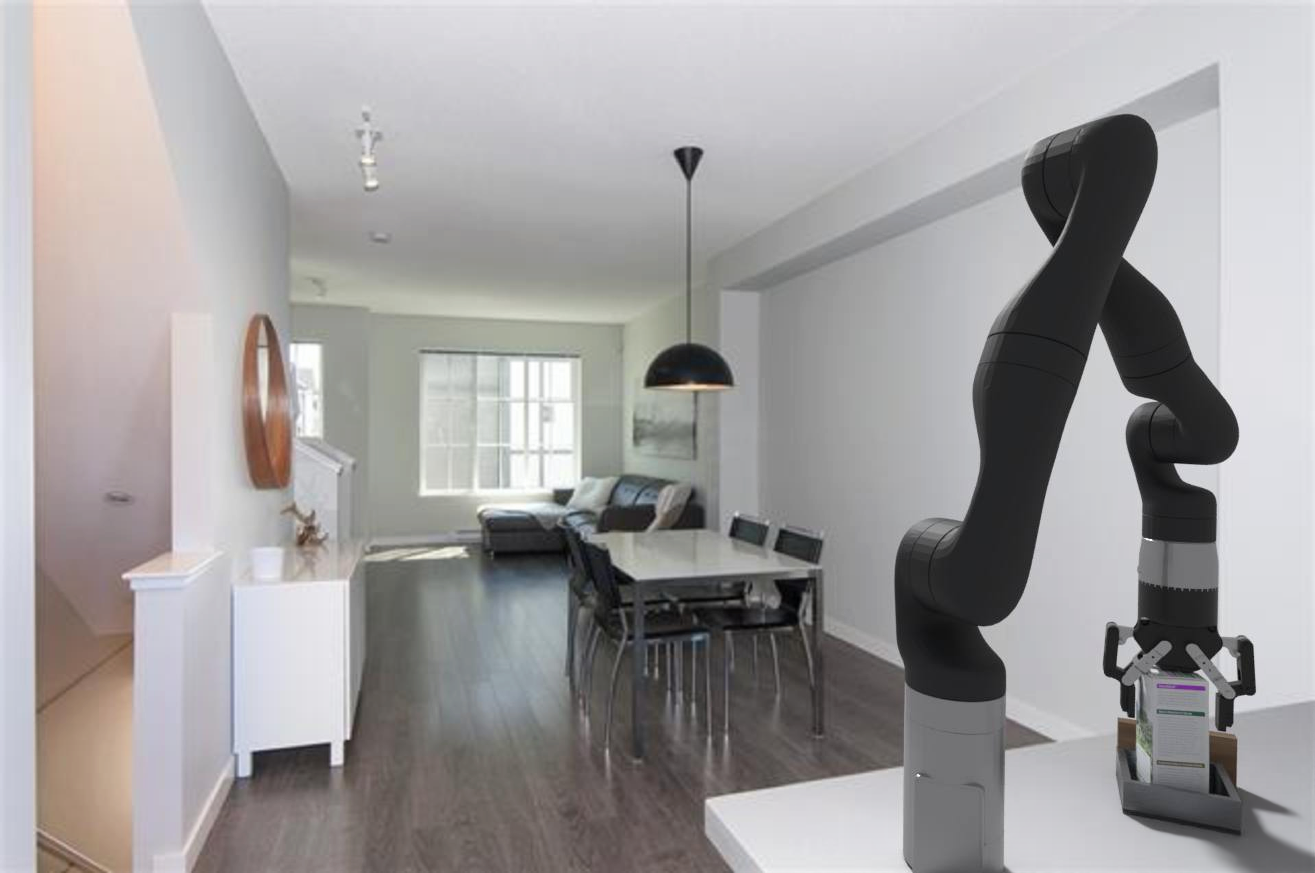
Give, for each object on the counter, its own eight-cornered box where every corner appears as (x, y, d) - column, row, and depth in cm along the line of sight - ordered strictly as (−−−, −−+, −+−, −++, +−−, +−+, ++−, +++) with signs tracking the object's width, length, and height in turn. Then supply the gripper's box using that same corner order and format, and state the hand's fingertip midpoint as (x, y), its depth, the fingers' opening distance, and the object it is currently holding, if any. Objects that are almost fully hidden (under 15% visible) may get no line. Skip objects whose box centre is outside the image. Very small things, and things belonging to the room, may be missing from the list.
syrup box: (1211, 813, 86) (1213, 680, 86) (1150, 806, 88) (1152, 675, 87) (1189, 789, 92) (1191, 664, 91) (1132, 783, 93) (1134, 660, 93)
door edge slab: (1236, 790, 93) (1237, 739, 92) (1117, 769, 98) (1118, 721, 98) (1233, 784, 94) (1234, 734, 94) (1116, 764, 99) (1117, 717, 99)
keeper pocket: (1240, 835, 82) (1241, 802, 82) (1122, 812, 87) (1123, 781, 87) (1221, 792, 92) (1221, 762, 92) (1115, 774, 97) (1116, 745, 97)
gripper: (1106, 579, 89) (1104, 722, 89) (1263, 591, 83) (1260, 746, 83) (1102, 568, 96) (1100, 701, 96) (1247, 579, 89) (1245, 722, 90)
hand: (1174, 722), depth 89 cm, fingers open, 8 cm apart
